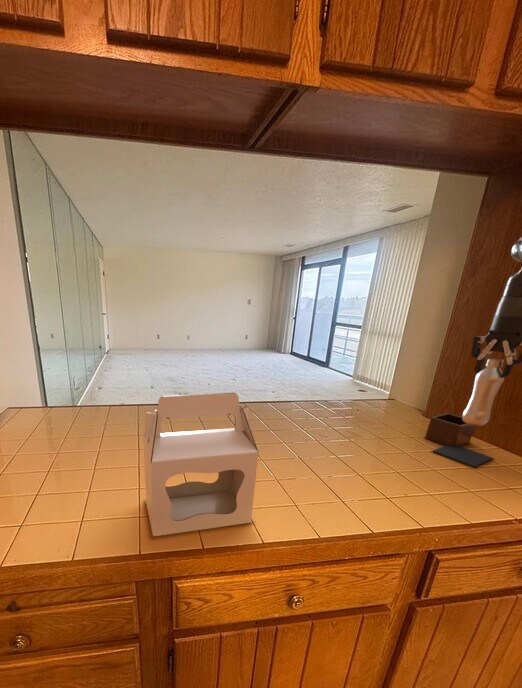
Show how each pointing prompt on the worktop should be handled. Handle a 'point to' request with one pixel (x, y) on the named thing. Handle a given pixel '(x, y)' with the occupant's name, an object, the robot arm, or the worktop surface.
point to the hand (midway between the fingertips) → (490, 374)
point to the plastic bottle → (484, 393)
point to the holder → (449, 430)
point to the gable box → (199, 466)
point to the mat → (463, 455)
